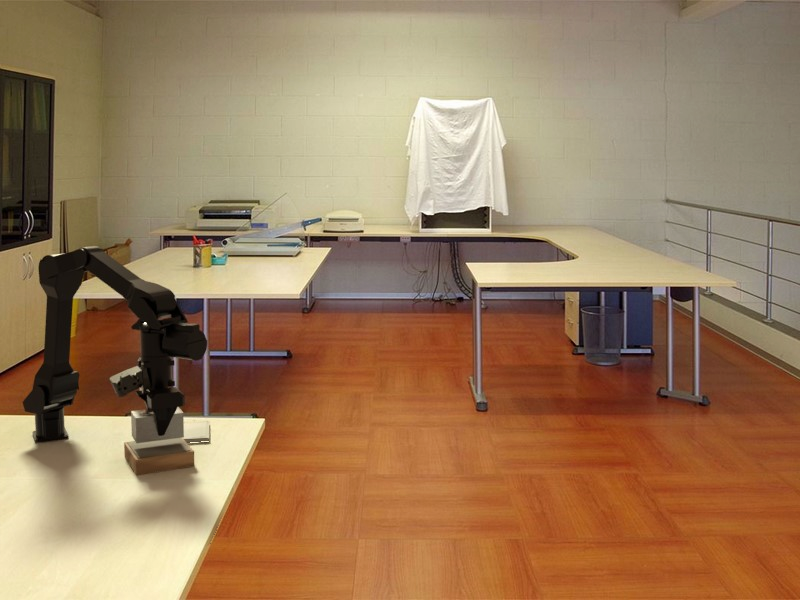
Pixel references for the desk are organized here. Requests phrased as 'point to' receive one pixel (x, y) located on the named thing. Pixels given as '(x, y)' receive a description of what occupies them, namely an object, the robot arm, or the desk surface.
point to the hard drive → (196, 431)
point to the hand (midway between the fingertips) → (157, 431)
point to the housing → (147, 429)
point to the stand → (158, 455)
